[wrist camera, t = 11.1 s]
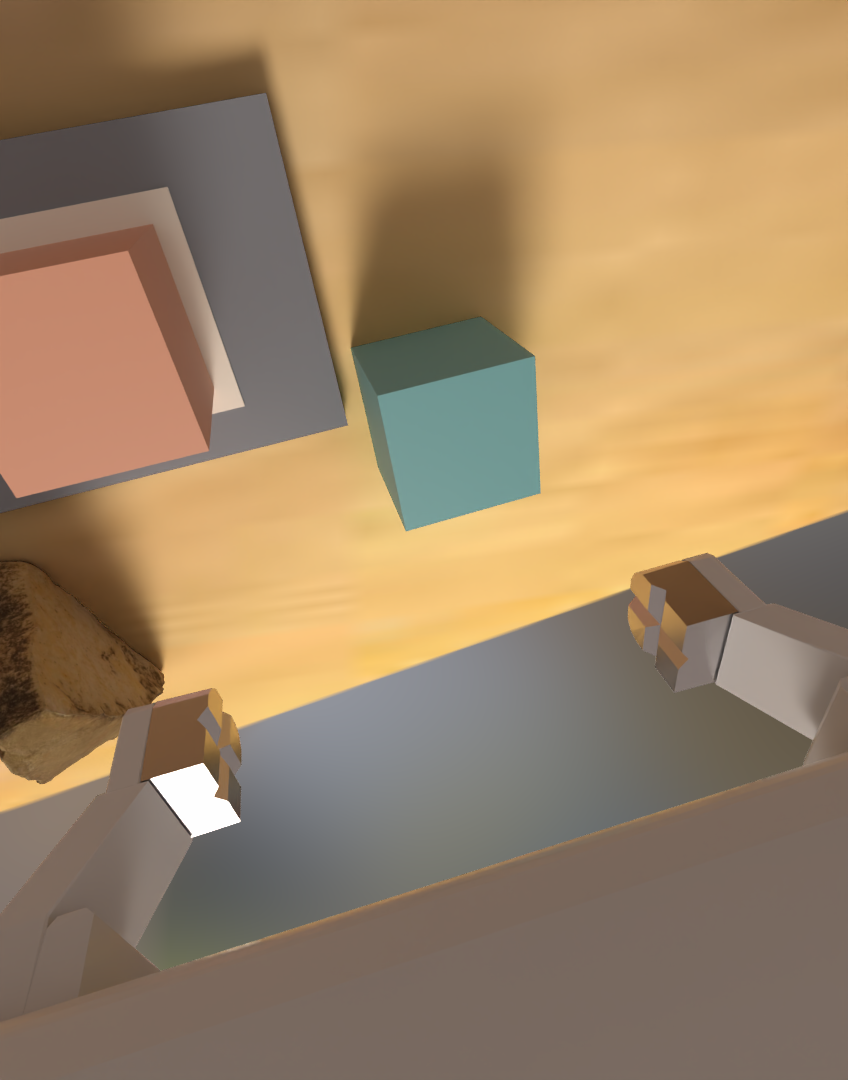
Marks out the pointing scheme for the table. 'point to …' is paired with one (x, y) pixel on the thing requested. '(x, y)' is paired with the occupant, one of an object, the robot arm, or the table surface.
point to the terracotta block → (96, 362)
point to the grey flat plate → (193, 257)
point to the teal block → (451, 419)
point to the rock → (60, 676)
